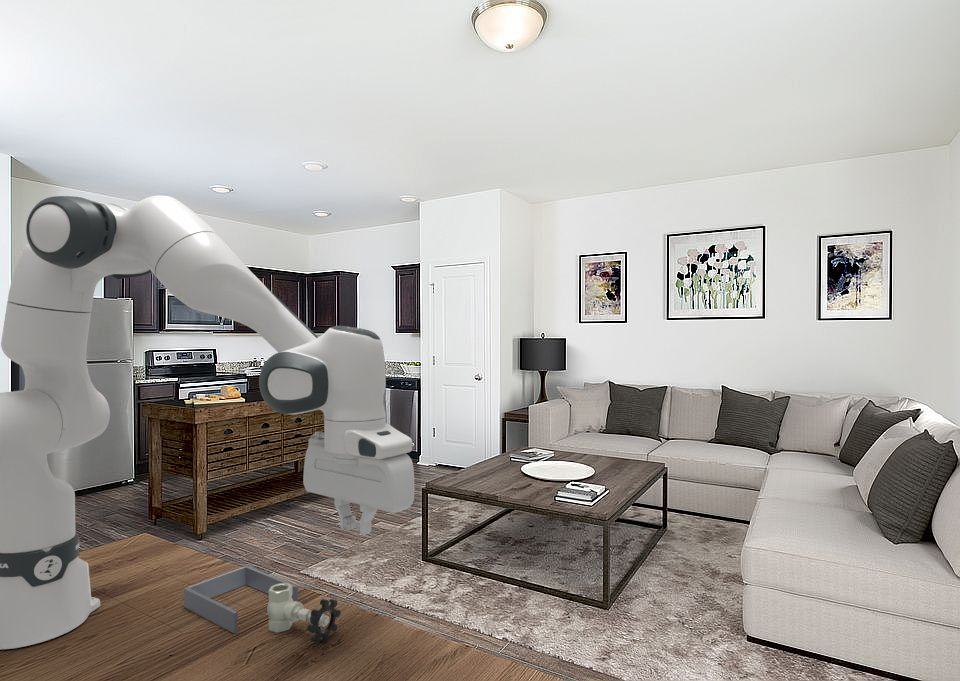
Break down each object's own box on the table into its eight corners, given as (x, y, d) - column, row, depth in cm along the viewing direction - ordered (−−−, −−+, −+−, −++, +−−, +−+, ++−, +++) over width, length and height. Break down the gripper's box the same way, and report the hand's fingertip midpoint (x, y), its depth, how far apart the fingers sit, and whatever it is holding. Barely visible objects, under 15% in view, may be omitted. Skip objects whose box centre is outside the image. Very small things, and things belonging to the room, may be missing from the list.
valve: (255, 633, 93) (311, 652, 88) (255, 592, 93) (311, 609, 88) (286, 615, 99) (341, 632, 94) (286, 577, 99) (341, 591, 94)
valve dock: (183, 607, 102) (183, 588, 102) (246, 582, 112) (246, 565, 112) (234, 633, 93) (234, 613, 93) (297, 604, 103) (297, 586, 103)
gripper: (292, 432, 89) (293, 523, 89) (389, 448, 77) (390, 552, 77) (325, 427, 94) (326, 512, 94) (421, 441, 82) (421, 538, 82)
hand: (355, 530), depth 85 cm, fingers closed
